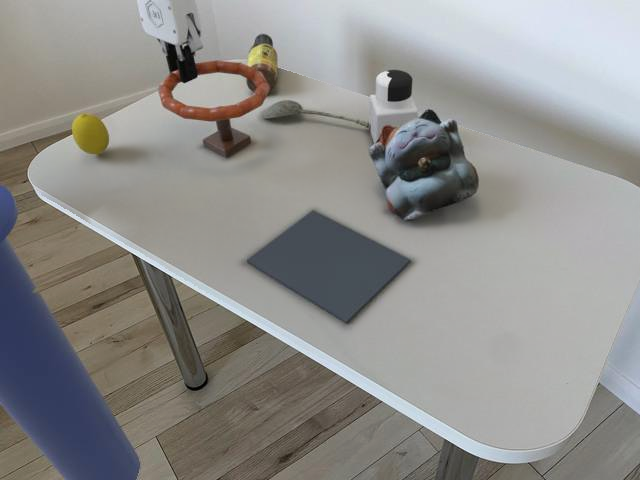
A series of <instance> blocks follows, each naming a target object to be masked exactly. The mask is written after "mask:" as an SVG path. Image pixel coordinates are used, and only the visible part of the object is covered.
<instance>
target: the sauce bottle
mask: <svg viewBox="0 0 640 480" xmlns="http://www.w3.org/2000/svg"><path fill="white" fill-rule="evenodd" d="M278 59H279V58H278V53H277V50H276V49H275V48H274V42H273V39H272V37H271V36H270V35H268V34H266V33H260V34H258V35H257V36H256V37H255V38H254V43H253V44H252V46H251V47H250V49H249V51H248V55H247V63H246V65H247V66H249V67H251V68H254V69H256V70H258V71H260V72H261V73H262V74H263V76H264V77H265V79H266V81H267V83H268V85H269V87H270V90H269V93H268V94H271V93H272V92H273V91H274V89H275V88H276V86H277V84H278V61H279V60H278ZM245 81H246V86H247V88H248V89H249V90H250V91H251V92H252V93H254V92H255V90H256V88H257V87H256V86H255V84H254V82H253V81H251V80H249V79H247V78H245Z"/></svg>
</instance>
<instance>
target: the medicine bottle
mask: <svg viewBox="0 0 640 480" xmlns="http://www.w3.org/2000/svg"><path fill="white" fill-rule="evenodd" d="M412 94H413V77H412V75H411V74H410V73H408V72H407V71H404V70H400V69H388V70H385V71H382V72H381V73H379V74H378V75H377V76H376V78H375V94H370V95H369V124H371V129H370V131H369V132H370V135H371V138H372V141H373V144H374V143H375V142H376V141H377V140H378V139H379V137H380V134H381V132H382V127H383V126H385V125H391V126H393V127H397V128H398V127H399V126H400V125H402V124H404V123H407V122H408V121H409V120H411V119H417V118H419V116H418V115H419V110H418V108H417V105H416V103H415V101H414V99H413V97H412Z"/></svg>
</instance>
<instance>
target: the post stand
mask: <svg viewBox="0 0 640 480" xmlns="http://www.w3.org/2000/svg"><path fill="white" fill-rule="evenodd" d="M223 106H224V105H222V106H221V105H219V107H223ZM215 124H216V129H217V131H215V132H213V133H212V134H209V135H208V136H206V137H204V138H202V140H201V141H202V145H203V147H204V148H205V149H208V150H209V151H212V152H213V153H215V154H217V155H219V156H222V158H223V157H224V158H226V159H227V158H229V157H230V156H232V155H234V154H236V153H238V152H239V151H241V150H242V149H244V148H246V147H247V146H249V145H251V144H252V139H251V136H250V135H248V134H247V133H245V132H242V131H240V130H238V129H236V128H234V127H232V125H231V119H226V120H220V121H215Z"/></svg>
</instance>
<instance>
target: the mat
mask: <svg viewBox="0 0 640 480" xmlns="http://www.w3.org/2000/svg"><path fill="white" fill-rule="evenodd" d="M246 263H247V264H248V265H250V266H253V267H254V268H255V269H257V270H259V271H260V272H262V273H263V274H264V275H267V276H268V277H270V278H271V279H273V280H275V281H276V282H278V283H279V284H281V285H283V286H285V287H286V288H288V289H289V290H291V291H293V292H294V293H296V294H297V295H299V296H301V297H303V298H304V299H306V300H307V301H309V302H311V303H312V304H314V305H316V306H317V307H319V308H320V309H322V310H324V311H325V312H327V313H328V314H331V316H334V317H335V318H337V319H339V320H340V321H342V322H343V323H345V324H348V323H349V322H350V321H351V320H352V319H353V318H355V317H356V316H357V315H358V314H359V313H360V312H361V310H363V309H364V308H365V307H366V306H367V305H368V304H369V303H370V302H371V301H372V300H373V299H374V298H375V297H376V296H378V294H379V293H380V292H382V291H383V289H385V288H386V287H387V285H388V284H389V283H391V282H392V280H394V278H396V277H397V276H398V275H399V274H400V273H401V272H402V271H403V270H404V269H405V268H406V267H407V266H408V265H409V264H411V259H410V258H408V257H406V256H404V255H402V254H400V253H398V252H396V251H395V250H393V249H390V248H388V247H387V246H384V244H381V243H379V242H377V241H375V240H373V239H371V238H369V237H367V236H365V235H363V234H361V233H359V232H357V231H355V230H353V229H352V228H349V227H347V226H345V225H343V224H342V223H340V222H337V221H336V220H334V219H332V218H330V217H328V216H326V215H324V214H323V213H320V212H318V211H317V210H313V209H312V210H311V211H309V212H308V213H307V214H306V215H304V216H303V217H302V218H301V219H298V221H296V222H295V223H294V224H293V225H291V226H290V227H288V228H287V229H286V230H284V231H283V232H282V233H280V234H279V235H278V236H276V237H275V238H274V239H272V240H271V241H270V242H268V243H267V244H265V245H264V246H263V247H262V248H261V249H259V250H258V251H257V252H255V253H254V254H252V255H251V256H250V257H248V258H247V259H246Z"/></svg>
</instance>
